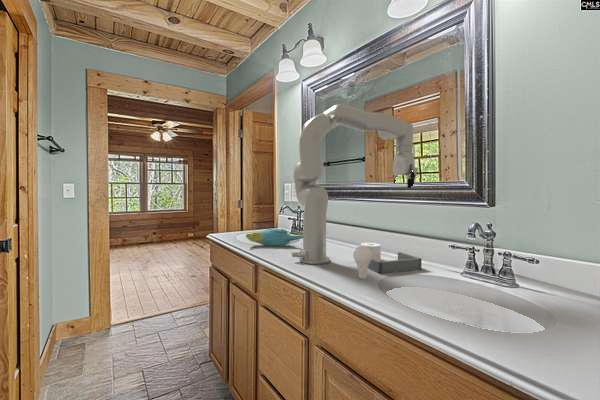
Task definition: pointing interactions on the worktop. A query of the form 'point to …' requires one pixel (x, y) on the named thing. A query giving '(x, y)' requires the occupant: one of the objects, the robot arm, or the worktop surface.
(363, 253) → the lightbulb
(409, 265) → the box
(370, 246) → the toilet paper
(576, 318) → the worktop surface
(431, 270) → the worktop surface
